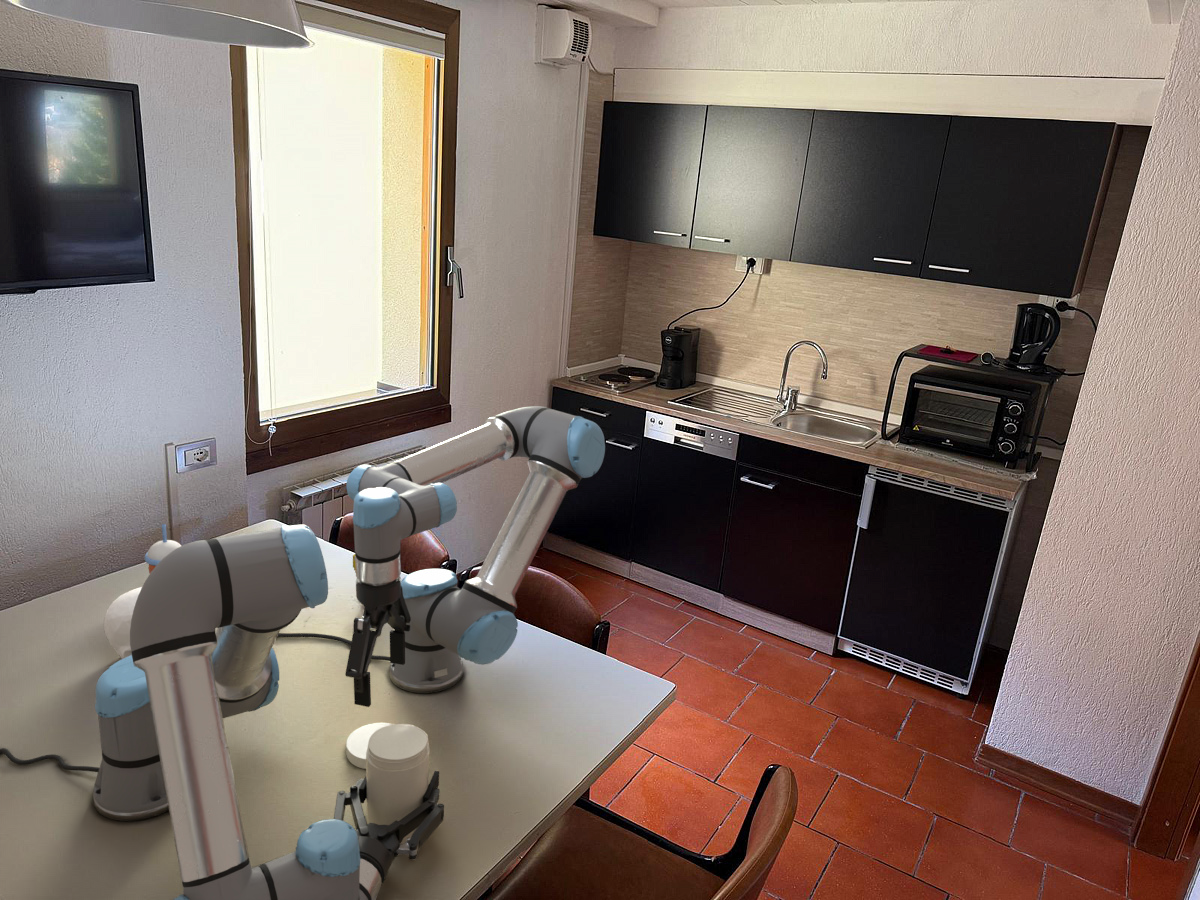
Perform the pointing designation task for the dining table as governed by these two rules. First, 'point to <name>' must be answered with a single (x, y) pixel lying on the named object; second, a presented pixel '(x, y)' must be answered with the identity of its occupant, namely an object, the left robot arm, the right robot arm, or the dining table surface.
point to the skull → (121, 622)
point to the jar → (396, 773)
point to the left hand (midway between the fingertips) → (405, 773)
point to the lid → (361, 743)
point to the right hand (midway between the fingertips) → (381, 683)
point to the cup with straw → (160, 550)
